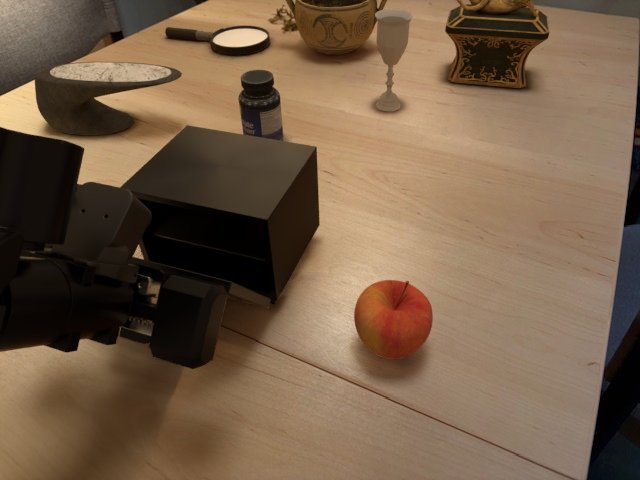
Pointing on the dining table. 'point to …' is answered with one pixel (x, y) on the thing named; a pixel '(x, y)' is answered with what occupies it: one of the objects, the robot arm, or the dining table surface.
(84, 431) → the dining table surface
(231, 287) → the oven door
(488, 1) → the decorative box
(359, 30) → the ceramic bowl
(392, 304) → the apple
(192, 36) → the magnifying glass
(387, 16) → the chalice
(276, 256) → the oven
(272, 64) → the dining table surface
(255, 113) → the pill bottle
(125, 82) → the coffee table
